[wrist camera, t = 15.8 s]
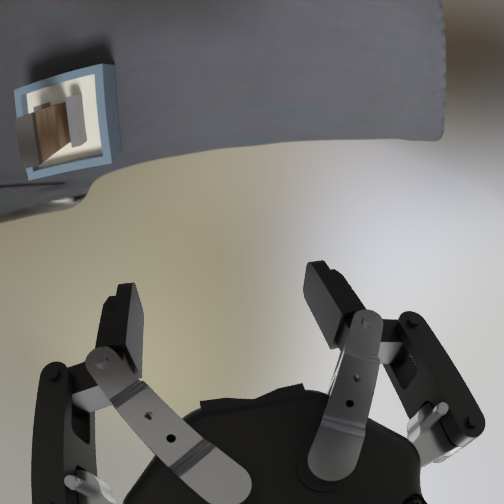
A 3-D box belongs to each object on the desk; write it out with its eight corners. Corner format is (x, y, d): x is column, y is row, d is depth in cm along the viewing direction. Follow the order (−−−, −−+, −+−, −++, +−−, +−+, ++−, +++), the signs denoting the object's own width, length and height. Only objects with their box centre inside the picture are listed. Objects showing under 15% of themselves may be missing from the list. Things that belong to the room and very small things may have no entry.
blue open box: (36, 85, 27) (10, 91, 21) (114, 65, 29) (100, 63, 23) (47, 164, 34) (25, 183, 28) (122, 149, 36) (110, 165, 30)
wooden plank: (54, 104, 26) (14, 119, 18) (68, 101, 26) (31, 113, 18) (59, 143, 29) (23, 169, 21) (73, 140, 29) (39, 164, 21)
